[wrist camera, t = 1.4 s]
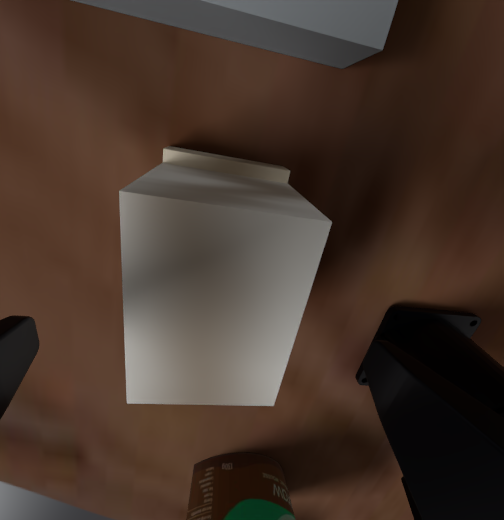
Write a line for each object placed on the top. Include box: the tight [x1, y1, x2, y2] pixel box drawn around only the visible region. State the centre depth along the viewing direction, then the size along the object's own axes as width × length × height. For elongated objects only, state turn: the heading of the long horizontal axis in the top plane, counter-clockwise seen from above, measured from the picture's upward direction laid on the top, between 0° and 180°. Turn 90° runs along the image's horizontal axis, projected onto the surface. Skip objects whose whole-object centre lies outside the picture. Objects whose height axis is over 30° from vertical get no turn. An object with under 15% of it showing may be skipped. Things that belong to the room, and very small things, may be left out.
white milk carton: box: [119, 146, 332, 406], centre depth 11 cm, size 5×8×6 cm, turn 170°
